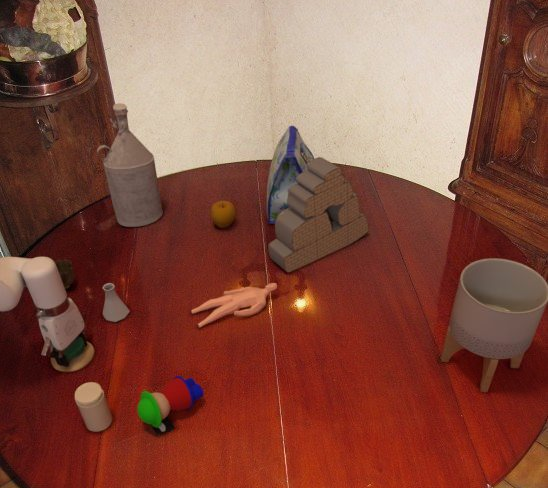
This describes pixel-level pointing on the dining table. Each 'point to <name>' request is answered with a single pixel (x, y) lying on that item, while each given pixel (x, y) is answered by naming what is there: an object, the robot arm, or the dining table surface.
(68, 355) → the jar lid
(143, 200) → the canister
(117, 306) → the flask
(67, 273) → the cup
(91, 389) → the beige cylinder
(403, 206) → the dining table surface
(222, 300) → the male figurine
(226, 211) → the apple
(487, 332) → the planter
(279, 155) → the lunch bag
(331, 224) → the ruin
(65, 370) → the coaster
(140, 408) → the toy figure
